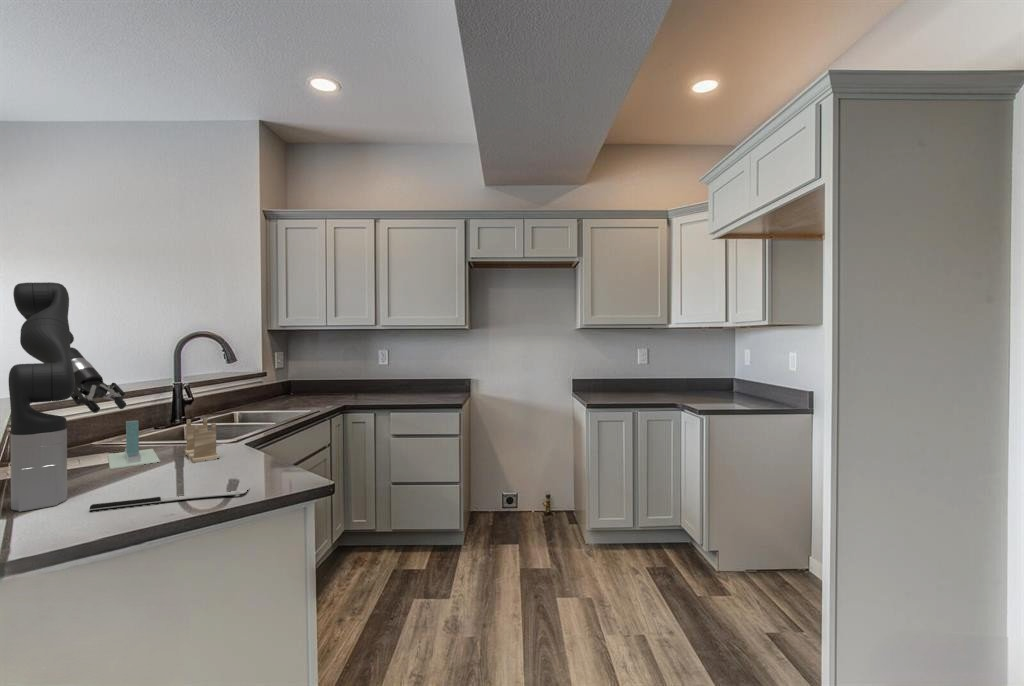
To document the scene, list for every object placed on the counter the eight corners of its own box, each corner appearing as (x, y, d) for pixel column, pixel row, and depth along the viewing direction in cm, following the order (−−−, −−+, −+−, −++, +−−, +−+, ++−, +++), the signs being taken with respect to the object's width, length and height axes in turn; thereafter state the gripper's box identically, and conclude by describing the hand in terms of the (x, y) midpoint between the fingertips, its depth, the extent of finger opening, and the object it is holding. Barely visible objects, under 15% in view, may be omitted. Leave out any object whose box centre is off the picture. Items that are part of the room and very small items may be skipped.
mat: (160, 462, 144) (160, 461, 144) (109, 469, 136) (109, 468, 136) (152, 449, 162) (152, 448, 162) (107, 455, 154) (107, 454, 154)
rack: (218, 459, 148) (218, 423, 148) (193, 463, 143) (192, 426, 143) (208, 449, 162) (207, 417, 162) (184, 452, 157) (183, 419, 157)
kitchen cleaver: (252, 482, 121) (245, 489, 111) (252, 489, 121) (245, 496, 111) (105, 498, 109) (84, 507, 100) (105, 505, 109) (84, 515, 100)
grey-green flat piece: (140, 462, 144) (140, 424, 144) (128, 463, 142) (128, 425, 142) (136, 452, 157) (136, 417, 157) (124, 453, 155) (124, 418, 155)
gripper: (64, 367, 145) (95, 404, 143) (109, 365, 159) (138, 398, 157) (50, 384, 146) (81, 420, 144) (97, 380, 160) (125, 413, 158)
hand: (111, 409), depth 151 cm, fingers open, 8 cm apart
